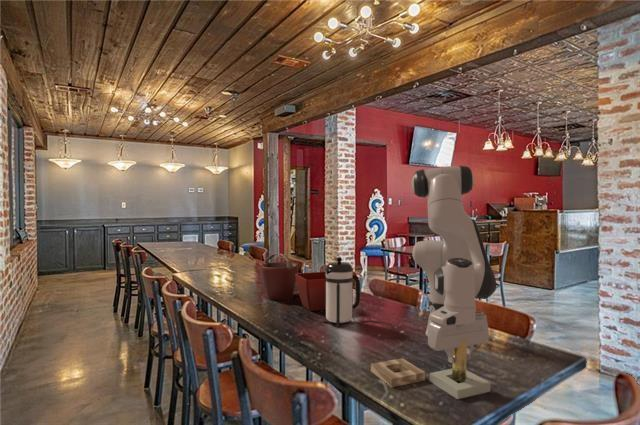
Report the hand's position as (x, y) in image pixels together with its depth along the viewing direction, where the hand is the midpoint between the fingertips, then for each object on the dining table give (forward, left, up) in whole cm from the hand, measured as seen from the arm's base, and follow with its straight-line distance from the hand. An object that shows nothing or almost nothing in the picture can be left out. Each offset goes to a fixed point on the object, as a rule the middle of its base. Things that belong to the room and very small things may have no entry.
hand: (459, 360), depth 116 cm
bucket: (+16, -130, -8) cm, 131 cm away
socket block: (0, 0, -8) cm, 8 cm away
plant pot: (+5, -99, -8) cm, 99 cm away
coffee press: (+5, -71, -8) cm, 72 cm away
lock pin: (0, 0, -5) cm, 5 cm away
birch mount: (+13, -13, -8) cm, 20 cm away
